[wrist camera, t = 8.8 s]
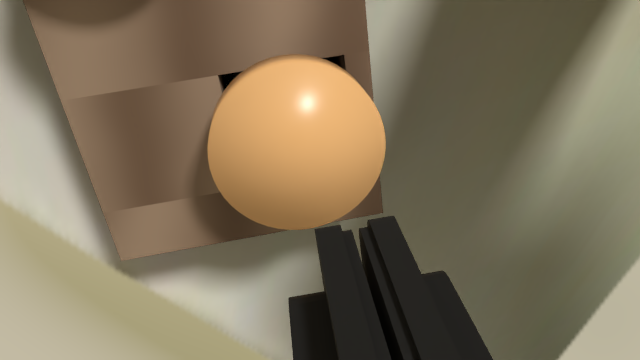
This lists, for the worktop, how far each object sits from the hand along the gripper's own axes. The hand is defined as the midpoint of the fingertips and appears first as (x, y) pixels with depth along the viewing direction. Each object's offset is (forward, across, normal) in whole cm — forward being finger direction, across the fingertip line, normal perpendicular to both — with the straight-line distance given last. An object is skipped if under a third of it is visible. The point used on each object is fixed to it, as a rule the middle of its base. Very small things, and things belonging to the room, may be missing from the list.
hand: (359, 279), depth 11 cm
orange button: (+15, +1, +1) cm, 15 cm away
